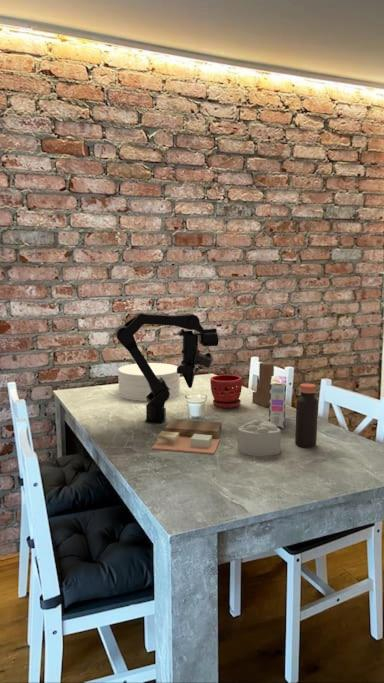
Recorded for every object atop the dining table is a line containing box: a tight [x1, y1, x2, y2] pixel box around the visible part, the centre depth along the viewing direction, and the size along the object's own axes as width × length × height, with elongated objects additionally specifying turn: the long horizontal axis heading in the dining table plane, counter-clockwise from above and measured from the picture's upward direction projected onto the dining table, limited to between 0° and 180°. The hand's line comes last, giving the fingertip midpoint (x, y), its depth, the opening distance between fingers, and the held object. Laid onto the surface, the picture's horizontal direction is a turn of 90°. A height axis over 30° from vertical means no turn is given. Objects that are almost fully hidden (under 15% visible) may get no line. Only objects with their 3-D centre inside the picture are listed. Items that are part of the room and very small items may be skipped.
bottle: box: [294, 383, 319, 449], centre depth 163 cm, size 7×7×20 cm
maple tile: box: [156, 430, 179, 445], centre depth 165 cm, size 6×5×2 cm
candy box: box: [268, 375, 287, 429], centre depth 187 cm, size 14×6×16 cm, turn 168°
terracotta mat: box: [151, 436, 221, 455], centre depth 164 cm, size 20×12×1 cm, turn 78°
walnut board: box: [164, 418, 223, 439], centre depth 175 cm, size 18×10×3 cm, turn 78°
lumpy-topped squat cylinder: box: [237, 419, 282, 457], centre depth 159 cm, size 10×13×9 cm
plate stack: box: [117, 362, 181, 402], centre depth 229 cm, size 28×28×12 cm
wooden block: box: [251, 361, 275, 408], centre depth 211 cm, size 9×4×18 cm, turn 27°
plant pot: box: [209, 374, 243, 409], centre depth 210 cm, size 13×13×12 cm
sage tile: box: [191, 434, 212, 448], centre depth 163 cm, size 6×5×2 cm
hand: (190, 387), depth 191 cm, fingers closed
